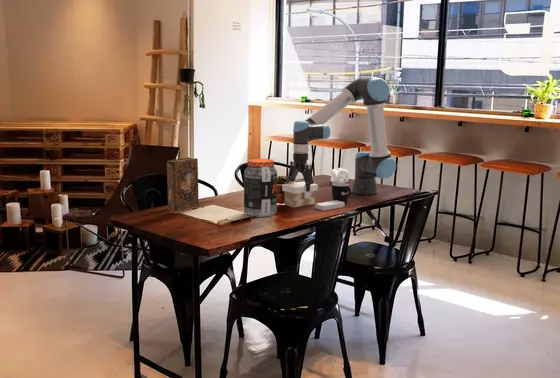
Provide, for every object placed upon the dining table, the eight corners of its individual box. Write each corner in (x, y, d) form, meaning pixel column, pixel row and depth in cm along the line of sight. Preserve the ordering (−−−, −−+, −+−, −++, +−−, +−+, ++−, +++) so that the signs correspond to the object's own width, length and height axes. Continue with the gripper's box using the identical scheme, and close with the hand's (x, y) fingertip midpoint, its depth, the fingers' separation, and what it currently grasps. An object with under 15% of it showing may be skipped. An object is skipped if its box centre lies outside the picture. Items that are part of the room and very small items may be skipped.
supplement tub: (279, 217, 268) (280, 162, 263) (245, 218, 265) (245, 163, 260) (274, 209, 283) (274, 157, 278) (242, 210, 281) (242, 157, 275)
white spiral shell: (342, 186, 342) (343, 171, 341) (325, 183, 349) (325, 169, 347) (351, 183, 352) (351, 168, 350) (333, 180, 358) (334, 166, 356)
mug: (340, 206, 291) (340, 186, 289) (327, 203, 298) (328, 184, 296) (356, 203, 299) (357, 184, 297) (343, 200, 305) (344, 181, 303)
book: (174, 214, 271) (173, 162, 266) (166, 212, 274) (164, 161, 269) (198, 208, 284) (197, 158, 279) (190, 206, 287) (189, 157, 282)
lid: (304, 188, 298) (305, 181, 297) (317, 192, 291) (317, 184, 290) (282, 192, 289) (282, 184, 288) (294, 195, 282) (294, 187, 281)
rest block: (336, 205, 292) (336, 200, 291) (344, 208, 287) (344, 202, 287) (315, 209, 283) (315, 203, 283) (323, 212, 279) (323, 206, 278)
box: (305, 202, 298) (306, 187, 297) (314, 205, 293) (314, 189, 291) (284, 206, 290) (284, 190, 288) (293, 208, 284) (293, 193, 283)
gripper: (280, 150, 292) (280, 192, 297) (309, 155, 275) (308, 200, 279) (292, 149, 297) (291, 191, 301) (321, 154, 279) (320, 199, 284)
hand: (299, 195), depth 290 cm, fingers closed on lid, 10 cm apart
